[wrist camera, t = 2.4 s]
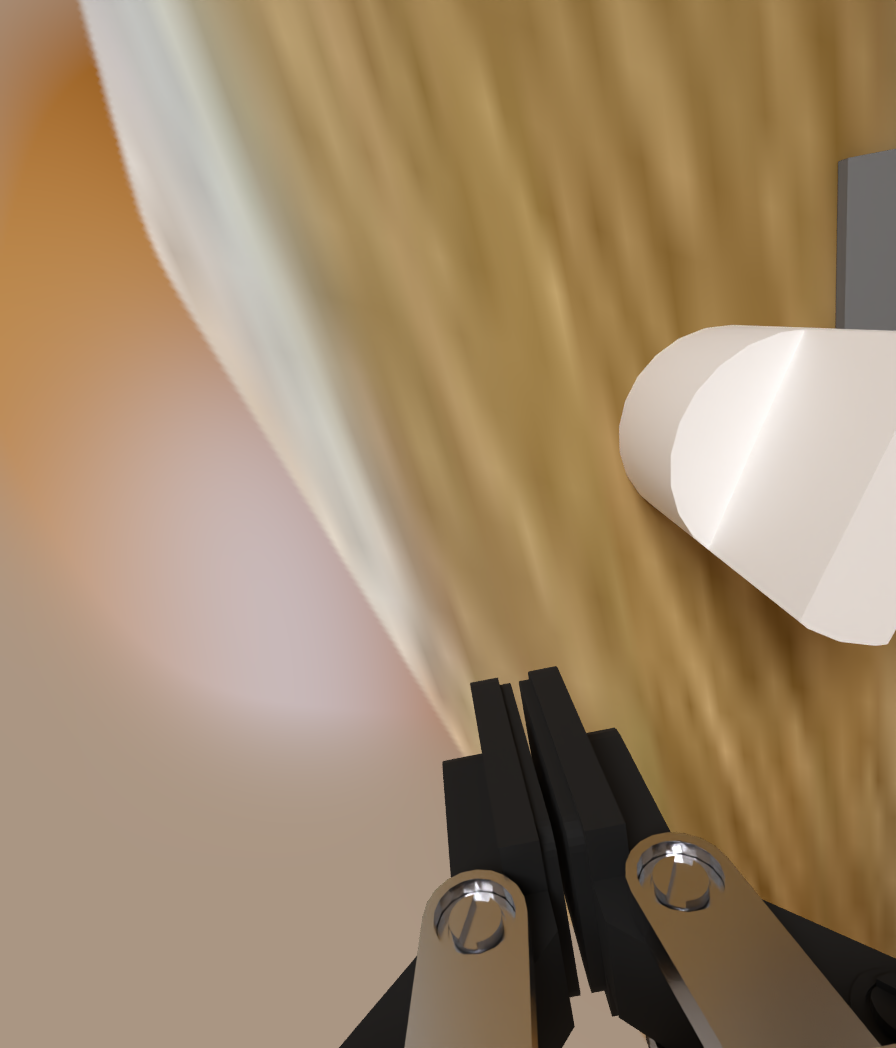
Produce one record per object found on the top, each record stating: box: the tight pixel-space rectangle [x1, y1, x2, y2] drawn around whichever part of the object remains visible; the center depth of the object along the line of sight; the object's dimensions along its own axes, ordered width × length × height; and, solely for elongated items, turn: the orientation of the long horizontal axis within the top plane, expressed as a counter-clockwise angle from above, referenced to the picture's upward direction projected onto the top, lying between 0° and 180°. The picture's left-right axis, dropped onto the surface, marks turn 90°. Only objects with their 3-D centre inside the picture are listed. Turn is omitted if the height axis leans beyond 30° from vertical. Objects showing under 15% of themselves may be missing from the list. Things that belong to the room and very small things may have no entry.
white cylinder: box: [619, 325, 896, 646], centre depth 23 cm, size 9×9×12 cm
